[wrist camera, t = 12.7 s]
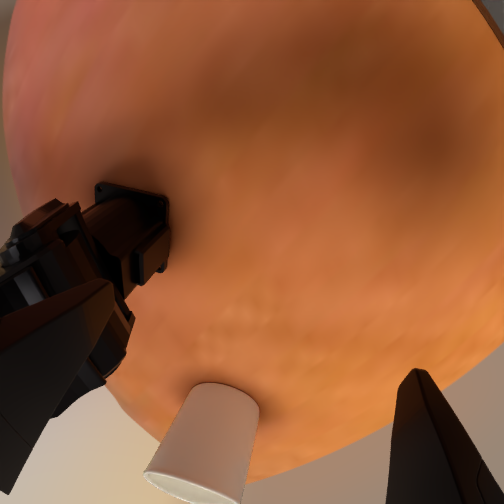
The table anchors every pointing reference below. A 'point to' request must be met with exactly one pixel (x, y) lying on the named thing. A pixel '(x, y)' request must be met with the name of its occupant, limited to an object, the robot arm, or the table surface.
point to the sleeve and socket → (493, 16)
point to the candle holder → (207, 447)
